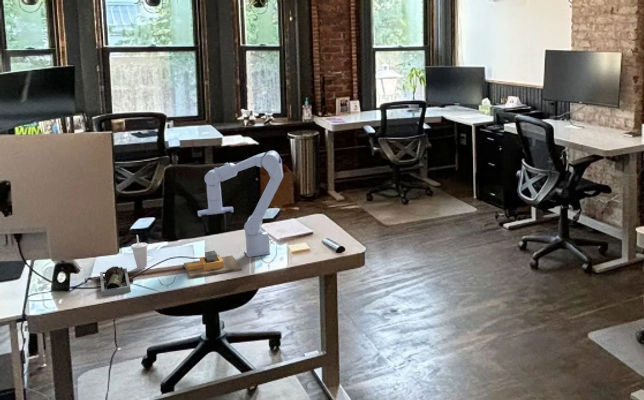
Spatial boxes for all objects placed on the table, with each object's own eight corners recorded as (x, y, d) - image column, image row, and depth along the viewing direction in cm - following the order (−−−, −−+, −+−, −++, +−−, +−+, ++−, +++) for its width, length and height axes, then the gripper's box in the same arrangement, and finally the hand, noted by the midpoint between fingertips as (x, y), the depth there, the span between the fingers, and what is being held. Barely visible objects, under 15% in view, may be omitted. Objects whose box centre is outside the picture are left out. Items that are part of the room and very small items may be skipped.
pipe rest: (127, 273, 252) (126, 268, 251) (130, 291, 233) (130, 286, 232) (100, 277, 249) (99, 272, 248) (102, 296, 229) (101, 291, 229)
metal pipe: (121, 293, 232) (119, 278, 231) (101, 295, 231) (99, 280, 230) (126, 275, 249) (124, 262, 248) (108, 277, 248) (106, 264, 247)
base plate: (232, 257, 264) (232, 255, 264) (241, 270, 249) (241, 267, 249) (183, 265, 258) (183, 263, 257) (190, 278, 243) (189, 276, 243)
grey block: (215, 264, 257) (214, 250, 255) (218, 268, 252) (217, 254, 251) (205, 266, 256) (204, 252, 254) (208, 270, 251) (206, 255, 249)
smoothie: (130, 269, 255) (126, 236, 252) (140, 264, 261) (136, 231, 258) (144, 271, 253) (139, 237, 250) (153, 265, 259) (149, 232, 255)
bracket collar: (219, 260, 259) (219, 254, 258) (223, 267, 251) (223, 261, 250) (186, 265, 254) (185, 259, 254) (189, 272, 246) (189, 266, 246)
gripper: (229, 194, 269) (232, 225, 273) (195, 199, 264) (198, 230, 268) (233, 198, 263) (235, 230, 266) (198, 202, 258) (201, 234, 261)
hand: (217, 230), depth 267 cm, fingers open, 7 cm apart
